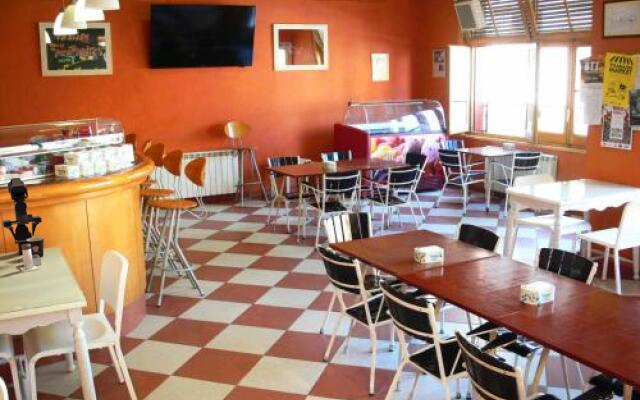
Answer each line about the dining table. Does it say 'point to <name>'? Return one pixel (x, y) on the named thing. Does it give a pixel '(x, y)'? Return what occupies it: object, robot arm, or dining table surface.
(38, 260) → the motor housing
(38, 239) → the coffee mug
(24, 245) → the salt shaker
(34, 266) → the pad
